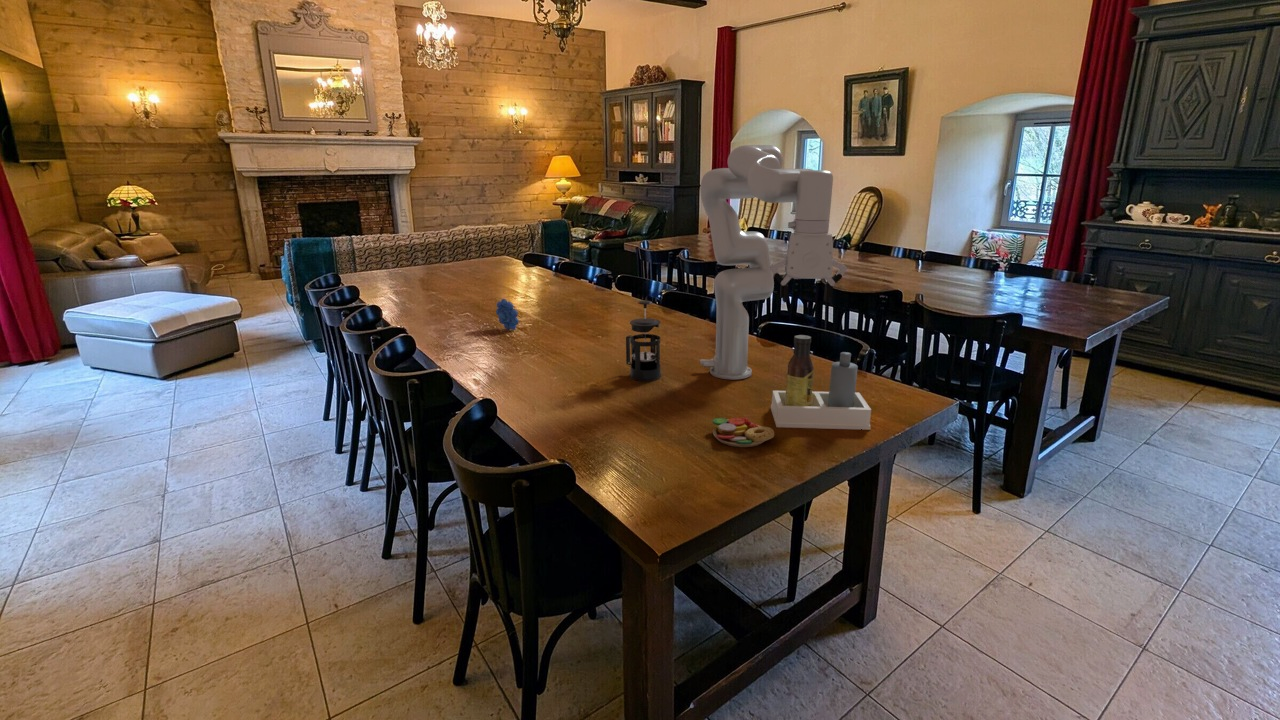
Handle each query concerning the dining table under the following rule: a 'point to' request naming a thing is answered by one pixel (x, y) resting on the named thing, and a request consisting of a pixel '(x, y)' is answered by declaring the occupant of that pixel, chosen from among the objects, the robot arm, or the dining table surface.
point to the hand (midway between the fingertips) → (805, 301)
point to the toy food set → (740, 432)
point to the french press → (645, 363)
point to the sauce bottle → (800, 374)
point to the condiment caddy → (827, 403)
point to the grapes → (507, 314)
